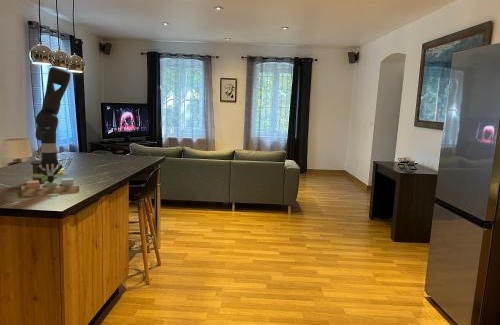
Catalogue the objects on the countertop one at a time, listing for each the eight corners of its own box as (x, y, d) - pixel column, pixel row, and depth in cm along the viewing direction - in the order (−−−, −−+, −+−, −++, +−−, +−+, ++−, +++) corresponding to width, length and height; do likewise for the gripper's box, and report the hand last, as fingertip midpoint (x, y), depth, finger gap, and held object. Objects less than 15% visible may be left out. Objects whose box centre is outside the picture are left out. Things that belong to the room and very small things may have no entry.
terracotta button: (27, 190, 194) (26, 183, 193) (27, 188, 199) (26, 181, 198) (39, 189, 197) (38, 182, 196) (38, 187, 201) (38, 180, 201)
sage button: (45, 191, 198) (45, 183, 198) (44, 188, 203) (44, 181, 202) (57, 190, 201) (56, 183, 201) (56, 187, 206) (55, 180, 205)
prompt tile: (47, 197, 192) (47, 195, 192) (46, 194, 196) (46, 193, 196) (57, 196, 194) (57, 194, 194) (57, 193, 199) (57, 192, 199)
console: (22, 196, 191) (21, 190, 190) (22, 192, 200) (21, 185, 199) (79, 191, 205) (79, 185, 204) (76, 187, 214) (76, 181, 213)
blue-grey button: (62, 187, 203) (62, 180, 202) (61, 185, 207) (61, 178, 207) (73, 186, 205) (73, 179, 205) (72, 184, 210) (72, 177, 209)
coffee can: (55, 185, 218) (54, 161, 216) (38, 188, 210) (36, 163, 207) (46, 182, 224) (44, 159, 221) (28, 185, 215) (26, 161, 213)
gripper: (61, 149, 205) (63, 180, 208) (34, 150, 198) (36, 182, 201) (63, 151, 199) (64, 182, 202) (35, 152, 192) (37, 184, 195)
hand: (50, 182), depth 201 cm, fingers closed
